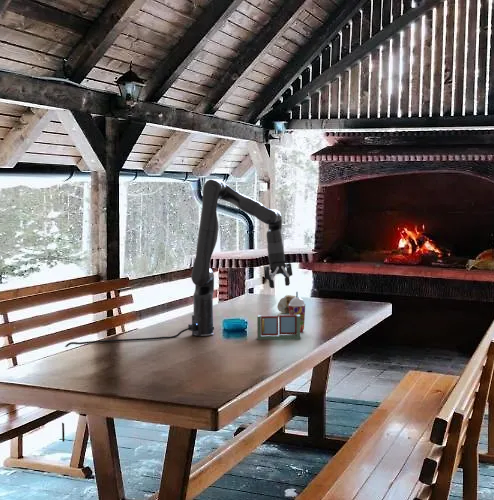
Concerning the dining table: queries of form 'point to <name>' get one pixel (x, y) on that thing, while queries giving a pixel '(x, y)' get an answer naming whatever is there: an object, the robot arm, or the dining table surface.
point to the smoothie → (298, 309)
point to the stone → (285, 303)
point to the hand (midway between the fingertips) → (279, 286)
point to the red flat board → (269, 325)
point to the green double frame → (283, 328)
